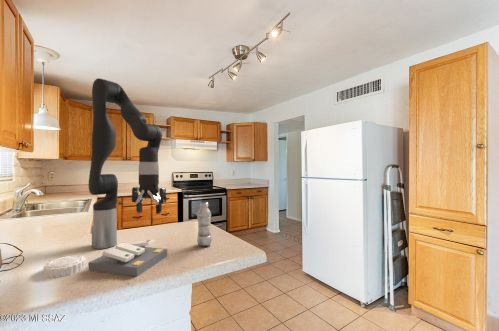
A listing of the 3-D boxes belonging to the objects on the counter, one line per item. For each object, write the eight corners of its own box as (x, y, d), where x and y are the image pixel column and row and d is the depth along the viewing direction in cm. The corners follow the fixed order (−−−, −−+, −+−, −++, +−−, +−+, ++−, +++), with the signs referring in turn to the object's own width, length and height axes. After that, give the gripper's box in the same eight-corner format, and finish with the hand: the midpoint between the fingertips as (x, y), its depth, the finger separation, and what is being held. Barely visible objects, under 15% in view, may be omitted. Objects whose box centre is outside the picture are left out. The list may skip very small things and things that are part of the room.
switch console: (88, 270, 85) (88, 258, 85) (125, 252, 102) (125, 241, 102) (137, 276, 80) (137, 263, 80) (167, 256, 98) (166, 245, 98)
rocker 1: (102, 254, 85) (102, 250, 85) (111, 250, 89) (111, 247, 89) (126, 262, 83) (126, 258, 82) (134, 257, 86) (134, 253, 86)
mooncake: (79, 260, 94) (79, 251, 94) (90, 269, 87) (90, 259, 87) (40, 271, 85) (40, 261, 85) (47, 282, 77) (47, 271, 77)
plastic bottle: (208, 248, 107) (208, 203, 106) (194, 247, 108) (194, 203, 108) (213, 243, 113) (213, 201, 113) (200, 242, 114) (200, 201, 114)
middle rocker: (115, 248, 91) (115, 245, 90) (123, 245, 94) (123, 241, 94) (137, 255, 88) (138, 251, 88) (144, 251, 92) (145, 248, 92)
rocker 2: (127, 247, 96) (126, 244, 96) (134, 244, 100) (133, 241, 100) (148, 245, 94) (147, 241, 94) (154, 242, 98) (154, 238, 98)
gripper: (126, 173, 94) (127, 214, 95) (159, 173, 91) (159, 216, 92) (139, 172, 102) (139, 210, 102) (169, 172, 99) (169, 212, 99)
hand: (149, 213), depth 97 cm, fingers open, 8 cm apart
